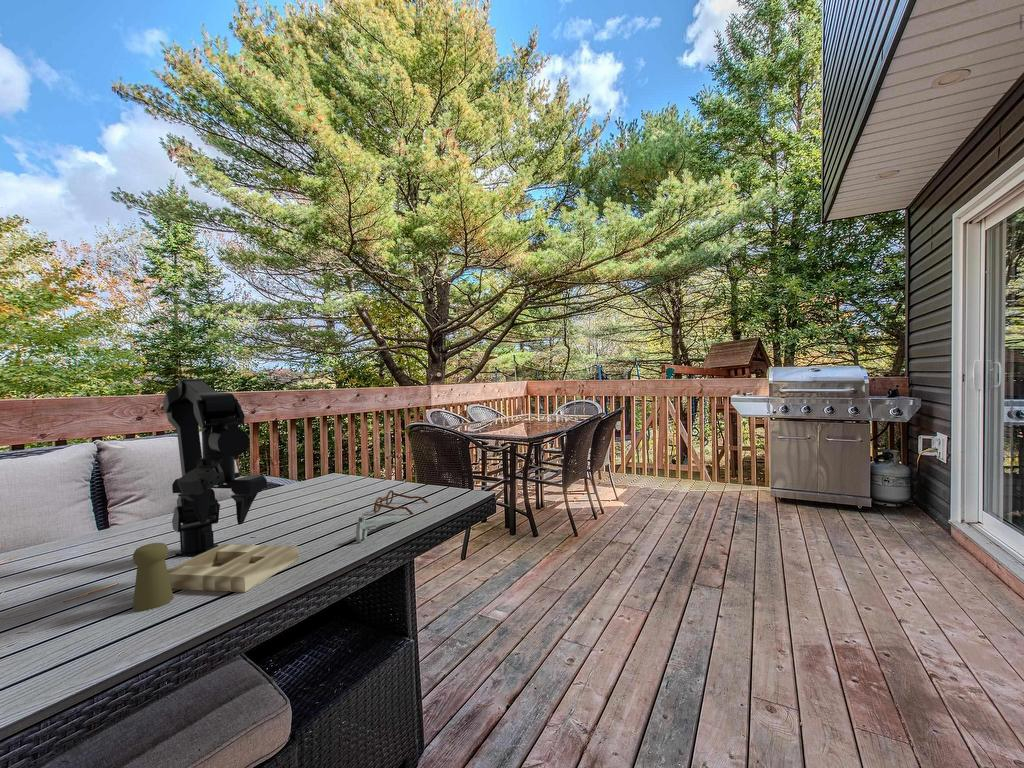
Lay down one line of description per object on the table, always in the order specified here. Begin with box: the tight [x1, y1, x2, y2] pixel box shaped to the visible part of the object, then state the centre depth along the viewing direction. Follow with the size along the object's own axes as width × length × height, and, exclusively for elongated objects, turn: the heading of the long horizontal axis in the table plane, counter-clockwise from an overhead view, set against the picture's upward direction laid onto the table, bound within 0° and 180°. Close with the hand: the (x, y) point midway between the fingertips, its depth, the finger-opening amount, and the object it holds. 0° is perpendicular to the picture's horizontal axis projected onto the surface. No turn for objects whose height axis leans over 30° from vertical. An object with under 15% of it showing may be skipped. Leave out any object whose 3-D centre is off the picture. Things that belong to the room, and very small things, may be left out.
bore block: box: [167, 544, 299, 593], centre depth 98 cm, size 20×16×3 cm
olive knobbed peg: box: [132, 542, 174, 612], centre depth 86 cm, size 6×6×11 cm
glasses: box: [373, 489, 430, 515], centre depth 143 cm, size 13×13×5 cm
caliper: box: [355, 515, 403, 543], centre depth 123 cm, size 20×1×6 cm, turn 164°
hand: (221, 523), depth 99 cm, fingers open, 9 cm apart
